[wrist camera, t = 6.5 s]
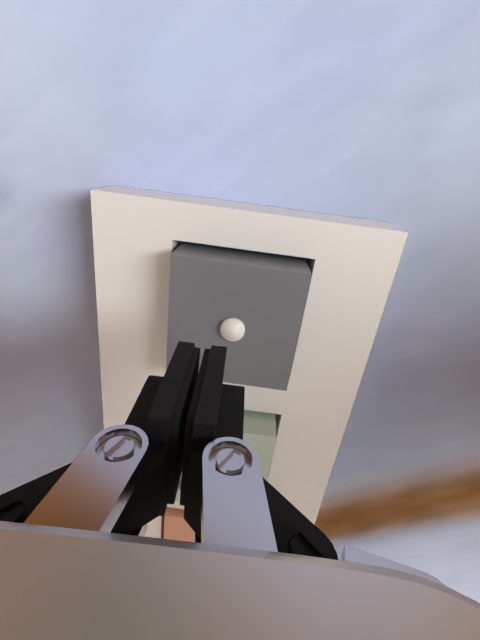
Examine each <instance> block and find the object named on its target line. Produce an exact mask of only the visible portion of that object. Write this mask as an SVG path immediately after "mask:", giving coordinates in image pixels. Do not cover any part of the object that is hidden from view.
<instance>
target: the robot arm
mask: <svg viewBox="0 0 480 640" xmlns="http://www.w3.org/2000/svg"><path fill="white" fill-rule="evenodd" d="M226 352H227V347H223V346H215V345H212V346H211V349H206V348H205V350H204V354H203V358H202V362H201V365H200V369H199V360H200V348H198V347H195V343H191V342H183V341H179V342H178V344H177V346H176V349H175V351H174V353H173V356H172V358H171V361H170V363H169V365H168V368H167V370H166V372H165V375H164V377H162V376H154V375H150V376H148V378H147V380H146V382H145V384H144V386H143V388H142V390H141V392H140V394H139V396H138V398H137V400H136V402H135V404H134V406H133V408H132V410H131V412H130V414H129V416H128V418H127V420H126V422H125V424H123V425H114V426H111V427H108V428H106V429H104V430H102V431H100V432H99V433H97V434H96V435H95V436H94V437H93V438H92V439H91V441H90V442H89V443H88V444H87V446H86V447H85V448H84V449H83V450H82V452H81V453H80V454H79V455H78V457H77V458H76V459H75V460H74V461H73V462H72V463H70V464H68V465H66V466H64V467H61V468H59V469H57V470H55V471H53V472H50V473H48V474H46V475H44V476H42V477H39V478H37V479H35V480H33V481H31V482H28V483H26V484H24V485H22V486H20V487H17V488H15V489H13V490H11V491H9V492H6V493H4V494H2V495H0V640H480V603H478V602H476V601H475V600H473V599H471V598H469V597H467V596H465V595H463V594H461V593H459V592H457V591H455V590H453V589H451V588H449V587H447V586H445V585H444V584H443V583H441V582H440V581H439V580H438V579H437V578H435V577H433V576H431V575H429V574H427V573H425V572H422V571H419V570H417V569H414V568H411V567H408V566H405V565H402V564H399V563H396V562H393V561H391V560H388V559H385V558H382V557H379V556H376V555H373V554H370V553H367V552H364V551H362V550H359V549H356V548H353V547H350V546H347V545H345V546H344V549H341V548H338V547H335V546H333V544H332V542H331V541H330V540H329V539H328V538H327V537H326V535H325V534H324V533H323V532H322V531H321V530H319V529H318V528H317V527H316V526H315V525H314V524H313V523H312V522H311V521H310V520H309V519H308V518H306V517H305V516H304V515H303V514H302V513H301V512H300V511H299V510H298V509H297V508H296V507H295V506H293V505H292V504H291V503H290V502H289V501H288V500H287V499H286V498H285V497H284V496H283V495H282V494H281V493H279V492H278V491H277V490H276V489H275V488H274V487H273V486H272V485H271V484H270V483H269V482H268V481H266V480H265V479H264V478H263V477H262V472H261V468H260V463H259V458H258V455H257V453H256V450H255V449H254V448H253V447H252V446H251V445H250V444H249V443H247V442H246V441H244V440H243V423H244V396H245V387H244V386H236V385H228V384H223V377H224V369H225V360H226ZM198 372H199V373H198ZM181 473H182V478H181V492H180V505H183V506H184V517H183V518H184V519H185V521H186V522H187V523H188V525H189V526H190V527H191V528H192V530H193V531H194V532H195V533H194V542H187V541H179V540H170V539H161V538H152V537H144V536H145V533H146V530H147V523H149V522H150V521H152V520H153V519H155V518H156V517H158V516H164V515H165V511H166V507H167V504H174V503H175V499H176V495H177V490H178V486H179V482H180V477H181Z"/></svg>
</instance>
